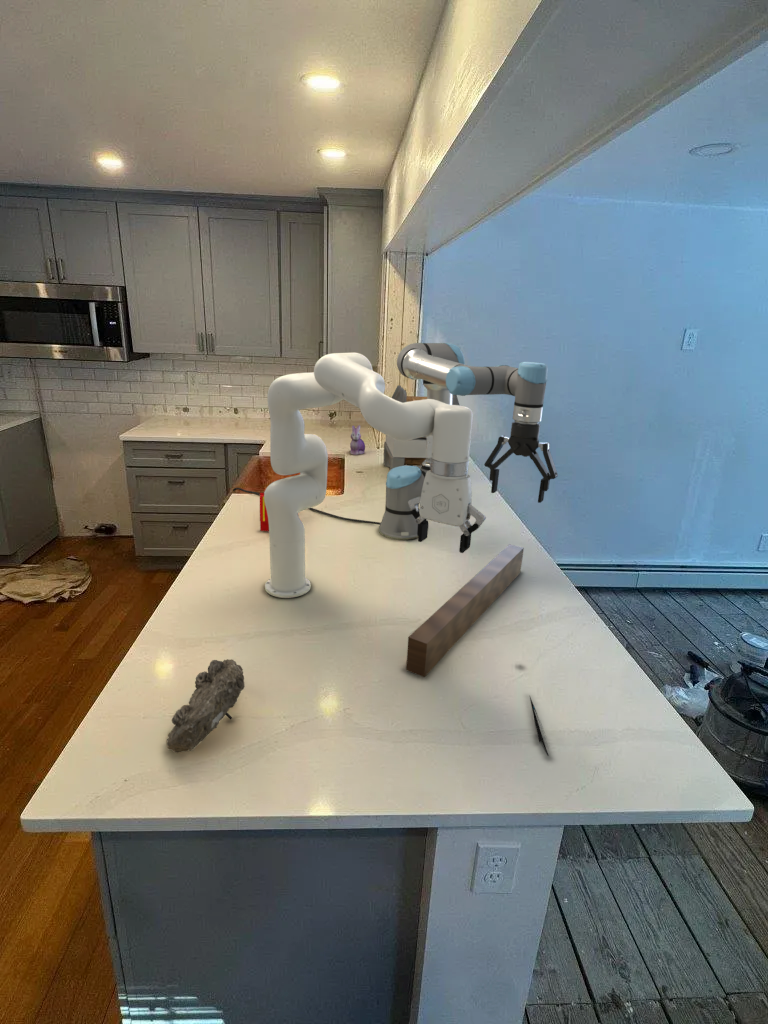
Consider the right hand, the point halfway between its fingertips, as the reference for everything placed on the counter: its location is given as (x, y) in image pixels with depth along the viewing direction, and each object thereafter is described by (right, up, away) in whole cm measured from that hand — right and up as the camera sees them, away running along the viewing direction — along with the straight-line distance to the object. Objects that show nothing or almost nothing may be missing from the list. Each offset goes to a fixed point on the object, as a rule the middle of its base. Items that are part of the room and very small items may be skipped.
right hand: (516, 496), depth 160 cm
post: (-14, -31, -11) cm, 36 cm away
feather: (-8, -44, -45) cm, 64 cm away
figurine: (-52, +28, +147) cm, 159 cm away
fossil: (-70, -43, -52) cm, 97 cm away
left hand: (-25, -11, -39) cm, 48 cm away
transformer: (-20, +15, +115) cm, 118 cm away
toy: (-76, -7, +49) cm, 91 cm away
